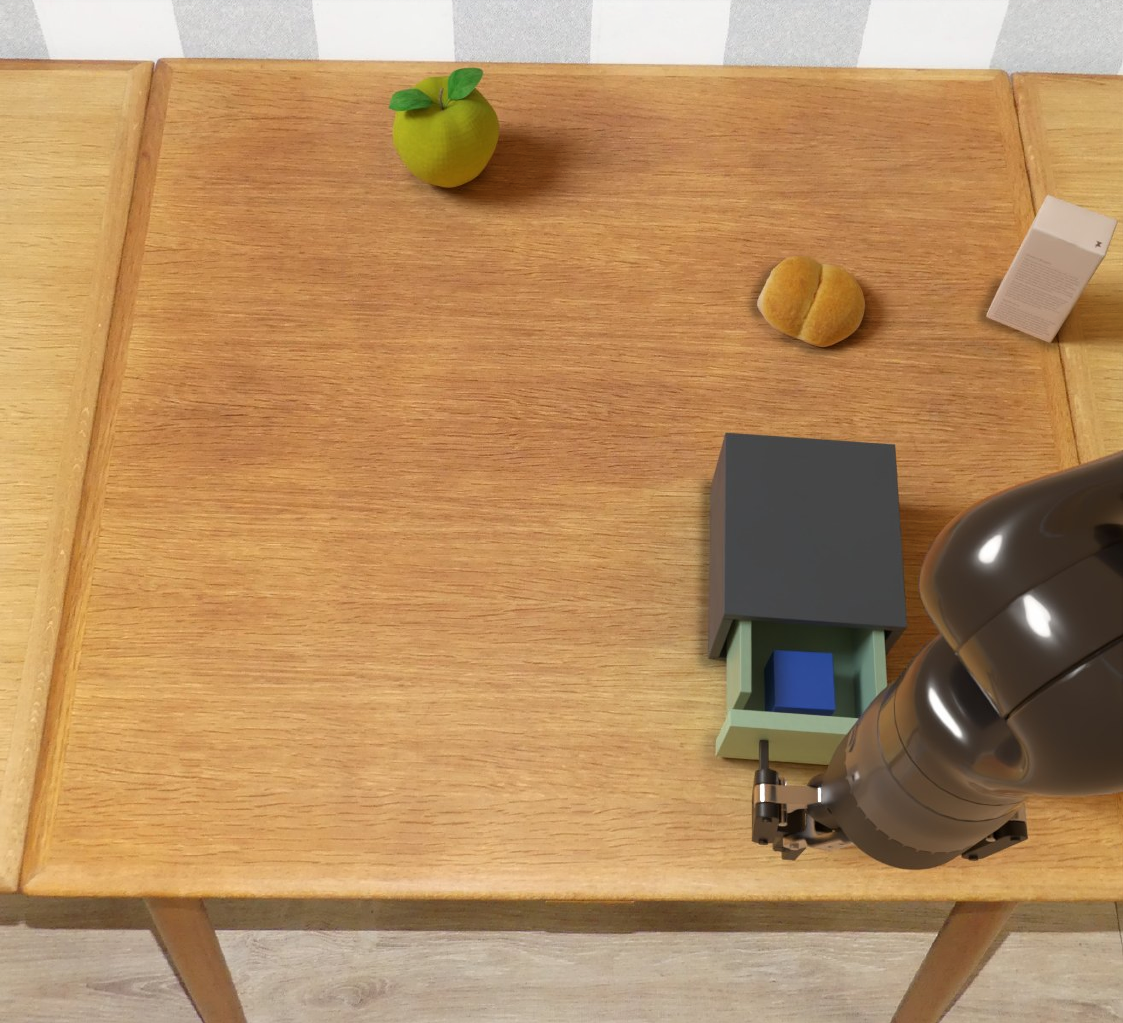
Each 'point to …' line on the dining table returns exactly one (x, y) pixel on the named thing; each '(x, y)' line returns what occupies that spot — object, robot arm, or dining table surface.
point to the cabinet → (805, 536)
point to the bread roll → (812, 301)
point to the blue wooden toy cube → (800, 683)
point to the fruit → (445, 128)
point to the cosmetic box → (1052, 268)
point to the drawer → (789, 733)
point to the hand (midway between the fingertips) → (846, 846)
